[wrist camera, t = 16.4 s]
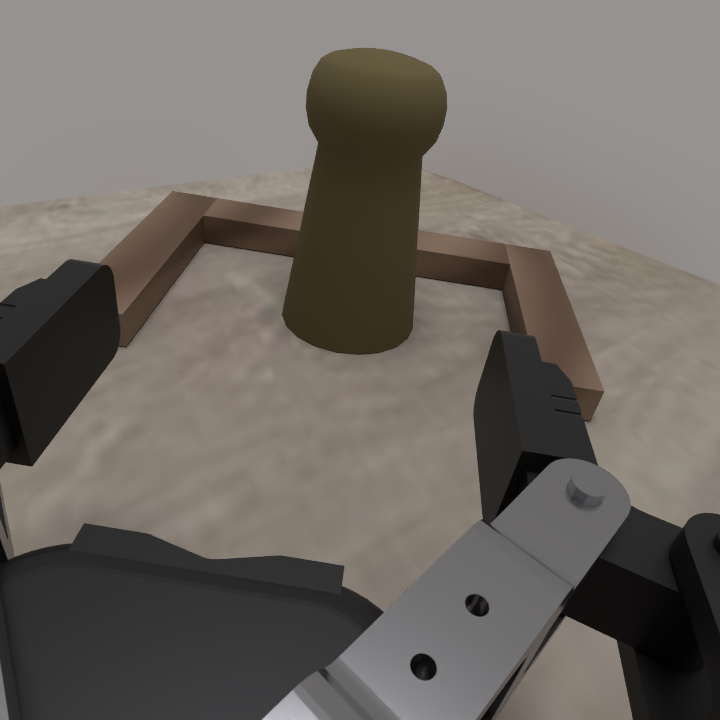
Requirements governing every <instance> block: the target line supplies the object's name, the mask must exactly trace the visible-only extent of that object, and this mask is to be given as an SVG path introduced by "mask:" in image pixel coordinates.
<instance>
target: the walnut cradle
mask: <svg viewBox="0 0 720 720" xmlns="http://www.w3.org/2000/svg"><path fill="white" fill-rule="evenodd" d="M303 213H304V212H300V211H294V210H288V209H281V208H275V207H269V206H262V205H256V204H250V203H244V202H237V201H231V200H225V199H218V198H212V197H206V196H200V195H193V194H187V193H181V192H174V191H172V192H171V193H170V194H169V195H168V196H167V197H166V198H165V199H164V200H163V201H162V202H161V203H160V204H159V205H158V206H157V207H156V208H155V209H154V210H153V211H152V212H151V213H150V214H149V215H148V216H147V217H146V218H145V219H144V220H143V221H142V222H141V223H140V224H139V225H138V226H137V227H136V228H135V229H134V230H133V231H132V232H130V233H129V234H128V235H127V236H126V237H125V238H124V239H123V240H122V241H121V242H120V243H119V244H118V245H117V246H116V247H115V248H114V249H113V250H112V251H111V252H110V253H109V254H108V255H107V256H106V257H105V258H104V259H103V260H102V261H101V262H100V263H99V264H104V265H108V266H109V267H110V268H111V269H112V272H113V275H114V282H115V290H116V298H117V306H118V314H119V322H120V341H119V346H125V347H126V346H127V345H128V344H129V342H130V341H131V340H132V338H133V337H134V336H135V334H136V333H137V332H138V330H139V329H140V328H141V326H142V325H143V324H144V322H145V321H146V320H147V318H148V317H149V316H150V314H151V313H152V312H153V310H154V309H155V307H156V306H157V305H158V303H159V302H160V301H161V299H162V298H163V297H164V295H165V294H166V293H167V291H168V290H169V289H170V287H171V286H172V285H173V283H174V282H175V281H176V279H177V278H178V277H179V275H180V274H181V273H182V271H183V270H184V269H185V267H186V266H187V265H188V263H189V262H190V261H191V259H192V258H193V257H194V255H195V254H196V252H197V251H198V250H199V248H200V247H201V246H202V244H203V243H204V242H206V243H213V244H219V245H225V246H232V247H238V248H244V249H250V250H257V251H263V252H269V253H275V254H282V255H288V256H294V255H295V250H296V246H297V241H298V236H299V231H300V227H301V222H302V217H303ZM416 276H420V277H426V278H432V279H439V280H445V281H451V282H458V283H464V284H470V285H476V286H483V287H489V288H495V289H502V290H503V295H504V300H505V305H506V310H507V315H508V319H509V324H510V329H511V332H513V333H519V334H525V335H531V336H535V338H536V341H537V345H538V348H539V352H540V356H541V360H542V362H548V363H554V364H557V365H558V367H559V368H560V369H561V370H562V371H563V372H564V373H565V375H566V376H567V377H568V378H569V379H570V380H571V382H572V385H573V388H574V392H575V395H576V398H577V400H576V402H578V404H579V407H580V410H581V417H583V420H587V421H591V419H592V417H593V414H594V412H595V410H596V408H597V406H598V404H599V402H600V399H601V397H602V395H603V393H604V389H603V387H602V384H601V382H600V379H599V376H598V374H597V371H596V369H595V366H594V364H593V361H592V358H591V356H590V353H589V351H588V348H587V345H586V343H585V340H584V338H583V335H582V333H581V330H580V327H579V325H578V322H577V320H576V317H575V314H574V312H573V309H572V307H571V304H570V301H569V299H568V296H567V294H566V291H565V289H564V286H563V283H562V281H561V278H560V276H559V273H558V270H557V268H556V265H555V263H554V260H553V257H552V255H551V252H550V251H546V250H539V249H533V248H527V247H520V246H514V245H508V244H502V243H495V242H489V241H483V240H476V239H470V238H464V237H457V236H451V235H445V234H439V233H432V232H426V231H420V230H418V241H417V259H416Z"/></svg>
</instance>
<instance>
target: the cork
mask: <svg viewBox="0 0 720 720" xmlns="http://www.w3.org/2000/svg"><path fill="white" fill-rule="evenodd" d="M306 111H307V117H308V123H309V126H310V128H311V130H312V132H313V134H314V136H315V137H316V139H317V141H318V147H317V151H316V156H315V161H314V165H313V170H312V175H311V180H310V184H309V189H308V194H307V198H306V203H305V208H304V213H303V217H302V222H301V227H300V231H299V236H298V241H297V246H296V250H295V255H294V260H293V264H292V269H291V274H290V279H289V283H288V288H287V293H286V297H285V302H284V307H283V313H282V316H283V318H284V321H285V323H286V325H287V327H288V328H289V329H290V330H291V331H292V332H293V333H294V334H295V335H297V336H298V337H299V338H301V339H303V340H305V341H307V342H308V343H310V344H312V345H314V346H317V347H320V348H323V349H327V350H330V351H334V352H340V353H350V354H368V353H379V352H382V351H385V350H388V349H391V348H394V347H397V346H398V345H399V344H401V343H402V342H403V341H405V340H406V339H407V338H408V337H409V334H410V332H411V330H412V328H413V311H414V293H415V276H416V259H417V241H418V224H419V206H420V189H421V171H422V156H423V155H424V154H425V153H426V152H427V151H428V150H429V149H430V148H431V147H432V146H433V145H434V144H435V142H436V141H437V139H438V137H439V134H440V132H441V130H442V128H443V125H444V121H445V116H446V111H447V93H446V90H445V87H444V84H443V80H442V78H441V76H440V74H439V73H438V72H437V71H436V70H435V69H434V68H433V67H432V66H430V65H428V64H426V63H425V62H422V61H420V60H418V59H416V58H413V57H411V56H407V55H405V54H401V53H398V52H394V51H389V50H383V49H376V48H353V49H345V50H337V51H334V52H331V53H329V54H327V55H325V56H324V57H322V58H321V59H320V61H319V62H318V64H317V65H316V67H315V68H314V70H313V72H312V75H311V79H310V82H309V85H308V89H307V100H306Z"/></svg>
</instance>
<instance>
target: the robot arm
mask: <svg viewBox="0 0 720 720" xmlns="http://www.w3.org/2000/svg"><path fill="white" fill-rule="evenodd" d="M119 341H120V322H119V314H118V306H117V298H116V290H115V282H114V275H113V272H112V269H111V268H110V267H109V266H108V265H104V264H98V263H92V262H86V261H79V260H73V259H70V260H67V261H66V262H65V263H64V264H62V265H61V266H60V267H59V268H58V269H57V270H56V271H55V272H54V273H52V274H51V275H50V276H49V277H48V278H47V279H42V278H40V279H38V280H36V281H34V282H31V283H29V284H27V285H24V286H22V287H20V288H17V289H16V290H15V291H13V292H12V293H11V294H10V295H9V296H8V297H6V298H5V299H4V300H3V301H2V302H1V303H0V469H1V467H2V466H3V465H4V464H5V462H8V463H14V464H20V465H26V466H33V465H34V463H35V462H36V461H37V459H38V458H39V457H40V455H41V454H42V453H43V451H44V450H45V449H46V447H47V446H48V445H49V443H50V442H51V441H52V439H53V438H54V437H55V435H56V434H57V433H58V431H59V430H60V429H61V427H62V426H63V425H64V423H65V422H66V421H67V419H68V418H69V417H70V415H71V414H72V413H73V411H74V410H75V409H76V407H77V406H78V405H79V403H80V402H81V401H82V399H83V398H84V397H85V395H86V394H87V393H88V391H89V390H90V389H91V387H92V386H93V385H94V383H95V382H96V381H97V379H98V378H99V377H100V375H101V374H102V373H103V371H104V370H105V369H106V367H107V366H108V365H109V363H110V362H111V361H112V359H113V358H114V356H115V354H116V352H117V349H118V346H119ZM576 400H577V398H576V395H575V392H574V388H573V385H572V382H571V380H570V379H569V378H568V377H567V376H566V375H565V373H564V372H563V371H562V370H561V369H560V368H559V367H558V365H557V364H554V363H548V362H542V360H541V356H540V352H539V348H538V345H537V341H536V338H535V336H531V335H525V334H519V333H513V332H507V331H501V330H498V331H497V332H496V334H495V336H494V338H493V341H492V344H491V347H490V351H489V354H488V357H487V360H486V363H485V366H484V369H483V373H482V376H481V379H480V382H479V385H478V388H477V392H476V397H475V403H474V427H475V438H476V449H477V460H478V471H479V482H480V493H481V504H482V515H483V519H482V520H480V521H478V522H476V523H475V524H474V525H473V526H472V527H471V528H470V529H469V530H468V531H467V532H466V533H465V534H464V535H463V536H461V537H460V538H459V539H458V540H457V541H456V542H455V543H454V544H453V545H452V546H451V547H450V548H449V549H448V550H447V551H446V552H445V553H444V554H443V555H442V556H441V557H440V558H439V559H438V560H437V561H436V562H435V563H434V564H433V565H432V566H431V567H430V568H429V569H428V570H427V571H426V572H425V573H424V574H423V575H422V576H421V577H420V578H419V579H418V580H417V581H416V582H415V583H414V584H413V585H412V586H411V587H409V588H408V589H407V590H406V591H405V592H404V593H403V594H402V595H401V596H400V597H399V598H398V599H397V600H396V601H395V602H394V603H393V604H392V605H391V606H390V607H389V608H388V609H387V610H386V611H385V612H383V611H382V610H381V609H380V608H378V607H377V606H376V605H374V604H373V603H372V602H370V601H369V600H368V599H366V598H364V597H363V596H361V595H359V594H357V593H356V592H354V591H352V590H350V589H347V588H345V587H343V586H342V579H343V572H344V566H342V565H335V564H329V563H323V562H317V561H311V560H305V559H299V558H293V557H287V556H281V555H280V556H264V557H248V558H231V559H207V558H204V557H201V556H199V555H196V554H194V553H192V552H189V551H187V550H185V549H182V548H180V547H178V546H175V545H173V544H171V543H168V542H166V541H164V540H161V539H159V538H157V537H154V536H152V535H150V534H146V533H140V532H134V531H128V530H122V529H116V528H110V527H104V526H98V525H91V524H85V523H84V525H83V526H82V528H81V530H80V531H79V533H78V535H77V536H76V538H75V540H74V542H73V543H72V544H63V545H57V546H50V547H46V548H42V549H38V550H34V551H30V552H28V553H25V554H22V555H19V556H16V557H15V555H14V550H13V545H12V540H11V535H10V530H9V524H8V519H7V514H6V509H5V504H4V498H3V493H2V488H1V483H0V720H496V718H497V717H498V715H499V714H500V712H501V710H502V709H503V707H504V706H505V704H506V703H507V701H508V700H509V698H510V697H511V695H512V694H513V692H514V691H515V689H516V688H517V686H518V685H519V683H520V682H521V680H522V679H523V678H524V676H525V675H526V673H527V672H528V670H529V669H530V668H531V666H532V665H533V663H534V662H535V661H536V659H537V658H538V656H539V655H540V653H541V652H542V651H543V649H544V648H545V646H546V645H547V643H548V642H549V641H550V639H551V638H552V636H553V635H554V634H555V632H556V631H557V629H558V628H559V626H560V625H561V624H562V622H563V621H564V619H565V618H566V616H567V617H570V618H572V619H574V620H576V621H578V622H580V623H582V624H584V625H586V626H589V627H591V628H593V629H595V630H597V631H599V632H601V633H603V634H606V635H608V636H610V637H612V638H614V639H616V640H617V644H618V648H619V653H620V658H621V663H622V668H623V673H624V678H625V683H626V687H627V692H628V697H629V702H630V707H631V712H632V717H633V720H720V515H719V514H713V513H702V514H697V515H695V516H692V517H691V518H690V519H689V520H688V521H687V523H686V524H685V526H684V527H683V528H681V527H678V526H676V525H674V524H671V523H669V522H666V521H664V520H661V519H659V518H656V517H654V516H652V515H649V514H647V513H645V512H642V511H640V510H638V509H636V508H635V507H633V506H631V504H630V499H629V495H628V493H627V491H626V490H625V488H624V487H623V485H622V484H621V483H620V482H619V481H618V480H617V479H616V478H615V477H614V476H613V475H612V474H610V473H609V472H607V471H606V470H605V469H603V468H601V467H599V466H598V464H597V461H596V458H595V455H594V451H593V448H592V445H591V442H590V439H589V436H588V432H587V429H586V426H585V423H584V420H583V417H581V410H580V407H579V404H578V402H576Z"/></svg>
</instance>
